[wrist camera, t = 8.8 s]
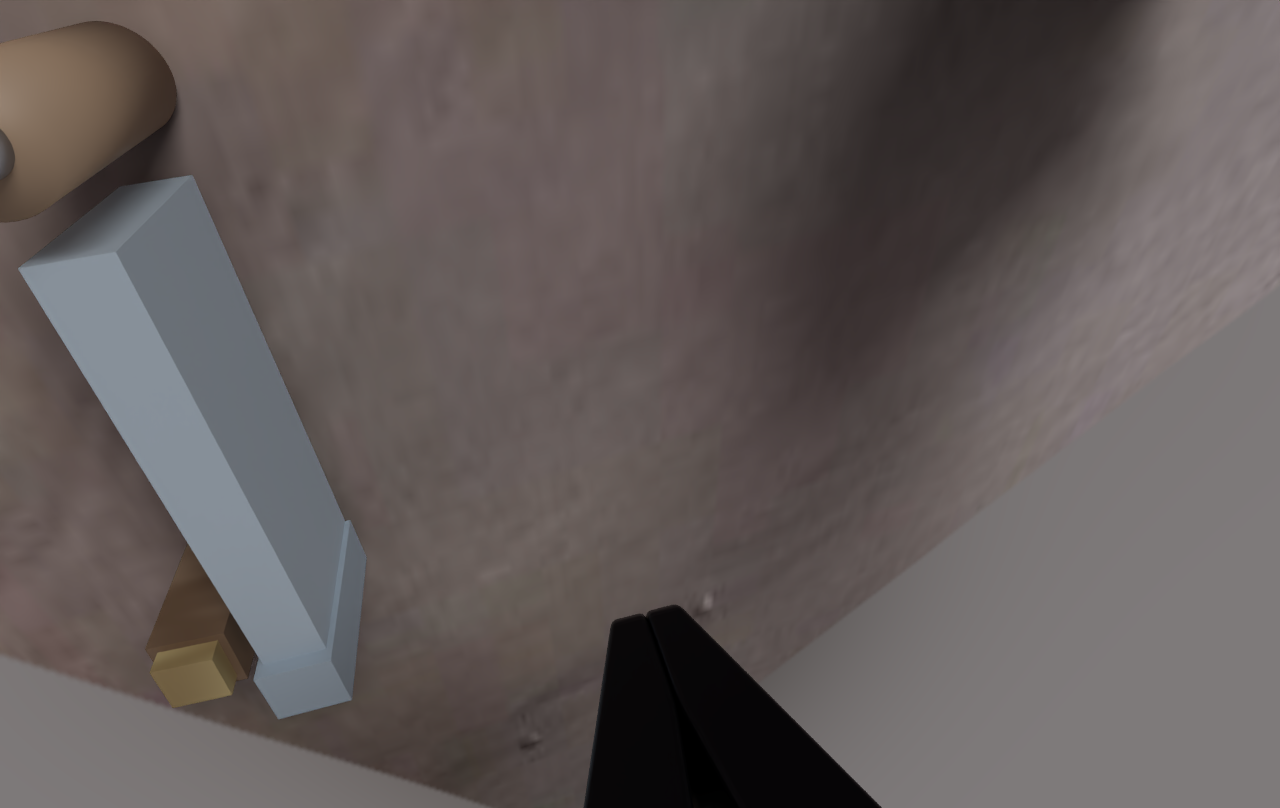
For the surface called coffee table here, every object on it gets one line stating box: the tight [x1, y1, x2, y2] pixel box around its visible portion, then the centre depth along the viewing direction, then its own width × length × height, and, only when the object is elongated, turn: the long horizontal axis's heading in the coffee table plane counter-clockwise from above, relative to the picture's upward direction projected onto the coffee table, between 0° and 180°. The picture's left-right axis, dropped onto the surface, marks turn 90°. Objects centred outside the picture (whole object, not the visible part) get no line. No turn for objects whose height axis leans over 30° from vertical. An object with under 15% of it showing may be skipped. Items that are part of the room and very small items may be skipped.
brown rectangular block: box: [145, 544, 255, 708], centre depth 20 cm, size 2×2×5 cm
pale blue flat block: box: [0, 21, 367, 719], centre depth 16 cm, size 15×2×6 cm, turn 6°
